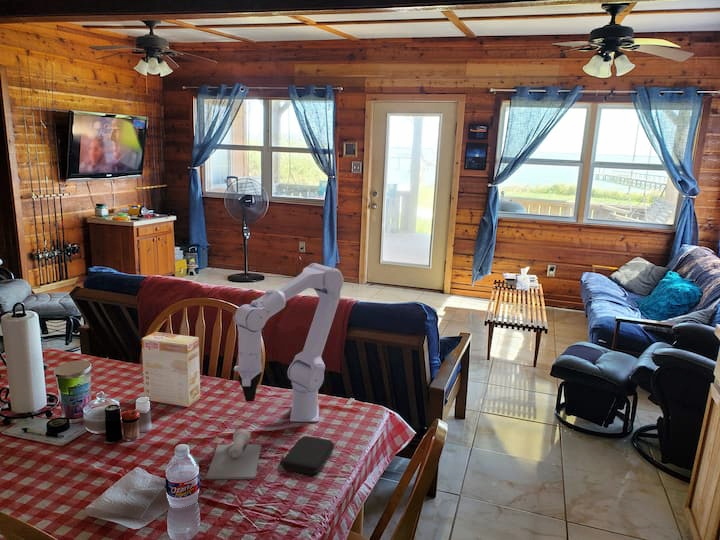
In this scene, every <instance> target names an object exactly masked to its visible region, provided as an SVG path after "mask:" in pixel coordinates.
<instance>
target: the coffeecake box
mask: <svg viewBox="0 0 720 540" xmlns="http://www.w3.org/2000/svg"><path fill="white" fill-rule="evenodd" d="M199 339H200V338H199V337H198V336H191V335H184V334H183V335H182V334H174V333H168V332H159V331H154V332H152V333H150V334H148V335H146V336H144V337H142V338H141V352H142V355H141V356H142V371H143V373H142V374H143V378H142V379H143V392H144V393H143V395H144V396H147V397H149V399H150V401H151V402H156V403H157V402H158V403H162V404H170V405H175V406H180V407H187V408H189V407H191V406H192V405H193V404H194V403H195V402H197V401H198V400H199V399H200V398H201V377H200V375H201V370H200V369H201V368H200V367H201V366H200V340H199Z"/></svg>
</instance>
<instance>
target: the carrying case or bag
mask: <svg viewBox="0 0 720 540" xmlns="http://www.w3.org/2000/svg"><path fill="white" fill-rule="evenodd" d="M334 448H335V444H334V443H333V441H331V440H330V439H324V438H319V437H315V436H314V437H313V436H309V435H308V436H307V435H305V436H302V437H301V438H299V439H298V440H297V441H296V443H294V445H293V446H292V447H291V448H290V450H289V451H288V453H287V454H286V455H285V456H284V455H282V456H281V458H280V462H279V465H280V467H281V468H282V469H283V470H284V471H285V472H287V473H291V474H295V475H301V476H306V477H311V478H312V477H315V476H317V475H318V474H319V473H320V472H321V471H322V469H323V467H324V465H325V464H326V462H327V461H328V459H329V457H330V455H331V454H332V452H333V451H334Z"/></svg>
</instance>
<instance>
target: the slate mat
mask: <svg viewBox="0 0 720 540" xmlns="http://www.w3.org/2000/svg"><path fill="white" fill-rule="evenodd" d="M232 445H233V444H217V446H216V449H215V451H214V454H213V457H212V460H211V463H210V466H209V469H208V471H207V473H206V476H205V477H206V480H255V478H256V475H257V469H258V464H259V459H260V455H261V450H262V444H246V445H245V446H243V450H242V455H241V456H240V457H238V458H237V459H236V458H232V456H231V457H230V453H229V449H230V448H231V447H232Z"/></svg>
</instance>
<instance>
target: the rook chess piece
mask: <svg viewBox="0 0 720 540" xmlns="http://www.w3.org/2000/svg"><path fill="white" fill-rule="evenodd" d="M251 438H252V436H251V432H249V431H248V430H247V429H246V428H238V429H236V430H235V431H234V432H233V436H232V441H233V444H231V445H232V447H231V448H230V449H229V453H230V457H231V456H232V458H236V459H237V458H238V457H240V456H241V455H242V450H243V446H245V445H249V442H250V441H251Z"/></svg>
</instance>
